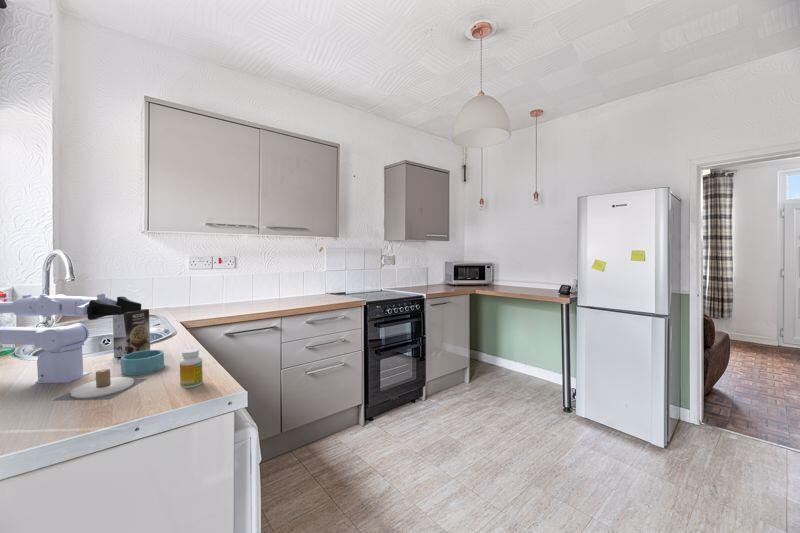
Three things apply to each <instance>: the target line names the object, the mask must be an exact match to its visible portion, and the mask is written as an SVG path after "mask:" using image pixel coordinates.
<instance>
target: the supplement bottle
mask: <svg viewBox="0 0 800 533" xmlns="http://www.w3.org/2000/svg"><path fill="white" fill-rule="evenodd" d="M199 355H200V350H199V349H198V348H189V349H185V350H183V351H182V352H181V357H182V358H181V359H180V360H179V383H180V387H182V388H184V389H189V388H190V389H191V388H196V387H198V386H200V385H202V384H203V379H204V378H203V376H204V375H203V358H202V357H201V356H199Z"/></svg>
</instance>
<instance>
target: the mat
mask: <svg viewBox="0 0 800 533" xmlns="http://www.w3.org/2000/svg"><path fill="white" fill-rule="evenodd" d="M133 379H134V384H133V385H132V386H131V387H129V388H127V389H125V390H123V391H120V392H117V393H114V394H110V395H106V396H101V397H95V398H87V399H77V398H73V397H71V391H70V392H67V393H65V394H63V395H61V396H59V397H56V398H54V399H53V401H81V400H82V401H83V400H84V401H85V400H86V401H87V400H88V401H89V400H91V401H93V400H94V401H95V400H111V399H113V398H115V397H116V396H119V395H120V394H122V393H125V392H126V391H128V390H131V388H133V387H134V388H135V387H136V386H137V385H139V384H141V383H142V382H144V381H147V380H148V378H133Z"/></svg>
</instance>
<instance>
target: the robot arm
mask: <svg viewBox="0 0 800 533" xmlns="http://www.w3.org/2000/svg"><path fill="white" fill-rule="evenodd" d="M141 309H142V303H140V302H137V301H133V300H130V299H128V298H127V297H125V296H117V297H116V300H115V299H112V298H108V297H106V293H97V295H96V297H95V296H94V297H93V296H74V295H67V294H65V293H64V294H62V293H59V294H53V295H48V294H46V293H45V294H44V293H43V294H40V295H37V296H35V295H34V296H32V294H23V295H22V296H20V297H17V298H16V299H14V300H13V301H0V315H1V314H14V315H15V316H16V317H21V318H22V317H36V316H37V317H39V316H42V317H43V318H47V317H51V316H56V315H57V316H59V315H61V316H67V317H68V316H69V317H86V318H87V319H88V320H89V321H93V320H94V321H95V320H98V319H102V318H104V317H108V316H109V317H111V316H113V315H122V314H125V313H127V312H135V311H141ZM89 336H90V332H89V328H88V327H87V326H86V325H85V324H84V323H80V322H76V323H72V324H69V325H63V326H62V325H61V326H55V327H44V326H43V327H37V326H35V327H34V326H33V327H32V326H30V327H29V326H4V325H3V323H2V320H1V319H0V345H24V346H25V345H28V346H29V345H31V346H34V347H35V349H43V351H42V352H40V354H39V355H38V357H37V361H36V364H37V365H36V366H37V367H36V368H37V380H36V381H34V382H35V384H42V383H43V384H45V383H46V384H48V383H49V384H50V383H52V384H53V383H70V382H73V381H75V380H77V379H80V378H82V377H85V376H87V375H90V374H92V371H84V362H83V361H84V358H83V346H85V342H86V341H88V338H89Z"/></svg>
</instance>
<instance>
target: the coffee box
mask: <svg viewBox="0 0 800 533" xmlns="http://www.w3.org/2000/svg"><path fill="white" fill-rule="evenodd" d="M150 327H151V326H150V309H149V308H141V311H135V312H127V313H125V314H122V315H112V332H113V333H112V335H113V336H112V338H113V358H117V357H122V356H124V355H127V354H129V353H134V352H138V351H145V350H151V333H150V332H151V331H150V330H151V328H150Z"/></svg>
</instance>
